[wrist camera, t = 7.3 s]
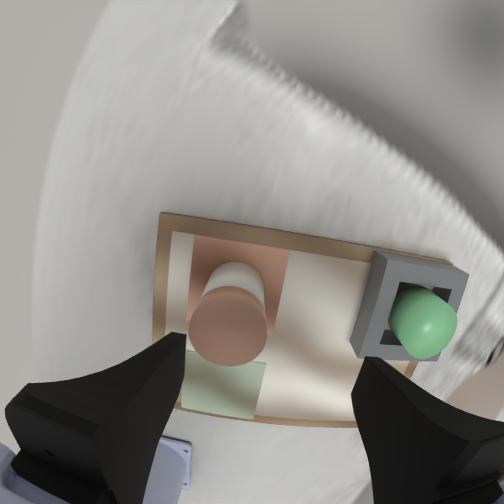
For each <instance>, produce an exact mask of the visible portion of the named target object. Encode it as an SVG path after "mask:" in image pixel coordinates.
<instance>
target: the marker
mask: <svg viewBox="0 0 504 504" xmlns="http://www.w3.org/2000/svg"><path fill="white" fill-rule="evenodd" d="M188 335H189V339H190V342H191V344H192V346H193V348H194V349H195V351H196V352H197V353H198V354H199V355H200V356H201V357H203V358H204V359H206V360H207V361H209V362H211V363H214V364H216V365H220V366H228V367H232V366H240V365H243V364H246V363H248V362H250V361H252V360H254V359H255V358H256V357H257V356H258V355H259V354H260V353H261V352H262V350H263V349H264V347H265V344H266V340H267V322H266V313H265V303H264V286H263V281H262V278H261V276H260V274H259V273H258V272H257V271H256V270H255V269H254V268H253V267H252V266H250V265H248V264H246V263H243V262H235V261H234V262H227V263H224V264H222V265H220V266H219V267H217V268H216V269H215V270H214V271H213V272H212V274H211V276H210V278H209V280H208V283H207V285H206V287H205V289H204V292H203V294H202V296H201V299H200V300H199V302H198V303H197V306H196V308H195V310H194V312H193V315H192V317H191V319H190V322H189V327H188Z"/></svg>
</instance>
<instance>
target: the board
mask: <svg viewBox="0 0 504 504" xmlns="http://www.w3.org/2000/svg"><path fill="white" fill-rule="evenodd" d="M374 250H378V251H383V252H389V253H394V254H399V255H405V256H410V257H415V258H420V259H425V260H430V261H436V262H441V263H446V264H451V265H453V263H451V262H449V261H444V260H439V259H434V258H429V257H424V256H419V255H414V254H409V253H404V252H399V251H394V250H389V249H383V248H378V247H373V246H367V245H362V244H356V243H351V242H345V241H340V240H334V239H329V238H323V237H317V236H311V235H306V234H300V233H294V232H288V231H282V230H276V229H270V228H264V227H257V226H251V225H245V224H239V223H232V222H226V221H219V220H213V219H206V218H199V217H193V216H186V215H179V214H172V213H165V212H162V213H160V215H159V225H158V236H157V248H156V262H155V278H154V299H153V339H152V345H153V344H154V343H155V342H157V341H158V340H160V339H161V338H163V337H164V336H166V335H167V334H169V333H170V332H177V333H182V334H187V338H186V356H185V376H184V379H183V383H182V387H181V390H180V394H179V396H178V399H177V401H176V403H175V406H174V408H175V409H180V410H184V411H189V412H194V413H199V414H205V415H210V416H216V417H222V418H228V419H235V420H242V421H250V422H258V423H267V424H278V425H290V426H305V427H331V428H358V426H357V422H356V419H355V416H354V412H353V407H352V400H351V392H352V389H353V387H354V384H355V382H356V379H357V377H358V374H359V372H360V369H361V366H362V364H363V361H364V359H358V358H357V356H356V354H355V352H354V350H353V348H352V346H351V344H350V342H349V341H350V338H351V335H352V332H353V328H354V325H355V322H356V319H357V315H358V312H359V309H360V305H361V302H362V298H363V295H364V291H365V288H366V284H367V280H368V276H369V273H370V269H371V265H372V263H371V262H372V258H373V254H374ZM234 261H235V262H243V263H246V264H248V265H250V266H252V267H253V268H254V269H255V270H256V271H257V272H258V273H259V274H260V276H261V278H262V281H263V286H264V303H265V313H266V322H267V340H266V344H265V347H264V349H263V350H262V352H261V353H260V354H259V355H258V356H257V357H256V358H255V359H254V360H252V361H250V362H248V363H246V364H243V365H240V366H232V367H228V366H220V365H216V364H214V363H211V362H209V361H207V360H206V359H204V358H203V357H201V356H200V355H199V354H198V353H197V352H196V351H195V349H194V348H193V346H192V344H191V342H190V339H189V335H188V327H189V322H190V319H191V317H192V315H193V312H194V310H195V308H196V306H197V303H198V302H199V300H200V299H201V296H202V294H203V292H204V289H205V287H206V285H207V283H208V280H209V278H210V276H211V274H212V272H213V271H214V270H215V269H216V268H217V267H219V266H220V265H222V264H224V263H227V262H234ZM412 286H424V287H426V288H428V289H429V290H431V291H433V288H434V286H427V285H420V284H414V283H407V282H401V281H400V282H399V286H398V289H397V293H396V296H395V298H396V297H397V296H398V295H399V294H400V293H401V292H402V291H404V290H405V289H407V288H409V287H412ZM385 330H391V329H390V327H389V324H388V321H387V324H386V327H385ZM384 361H386V362H387V363H388V364H390V365H391V366H392V367H394V368H395V369H396V370H398V371H399V372H400V373H402V374H403V375H404V376H405V377H407V378H408V379H409V380H410V379H411V377H412V375H413V372H414V370H415V368H416V366H417V364H418V361H396V360H384Z"/></svg>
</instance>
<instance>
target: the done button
mask: <svg viewBox="0 0 504 504" xmlns="http://www.w3.org/2000/svg"><path fill="white" fill-rule="evenodd" d="M388 324H389V327H390V329H391V330H392V332H393V333H394V334H395V336H396V337H397V338H398V339H399V341H400V342H401V343H402V345H403V346H404V347H405V349H406V350H407V351H408V353H409V354H410V355H411V356H412V357H414V358H417V359H427V358H430V357H433V356H435V355H437V354H438V353H440V352H441V351H442V350H443V349H444V348H445V347H446V346H447V345H448V344H449V342H450V341H451V339H452V338H453V335H454V333H455V330H456V326H457V316H456V313H455V311H454V309H453V308H452V307H451V306H450V305H449V304H447V303H446V302H445V301H443V300H442V299H441V298H440V297H438V296H437V295H436V294H434V293H433V292H432V291H431V290H429V289H428V288H426V287H424V286H412V287H409V288H407V289H405V290H404V291H402V292H401V293H400V294H399V295H398V296H397V297H396V298H395V299H394V302H393V306H392V309H391V312H390V315H389V318H388Z"/></svg>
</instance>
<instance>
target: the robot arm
mask: <svg viewBox="0 0 504 504" xmlns="http://www.w3.org/2000/svg"><path fill="white" fill-rule="evenodd" d="M186 338H187V334H182V333H177V332H170V333H169V334H167V335H166V336H164V337H163V338H161V339H160V340H158V341H157V342H155V343H154V344H153V345H151V346H150V347H148V348H146V349H145V350H143V351H142V352H140V353H138V354H137V355H135V356H133V357H131V358H129V359H128V360H126V361H124V362H122V363H120V364H118V365H115V366H113V367H111V368H108V369H106V370H103V371H100V372H97V373H93V374H90V375H87V376H83V377H79V378H75V379H70V380H64V381H57V382H46V383H28V384H27V385H26V386H25V387H24V388H23V389H22V390H21V391H20V392H19V393H18V394H17V395H16V396H15V397H14V398H13V399H12V400H11V401H10V402H9V404H8V405H7V406H6V408H5V417H6V420H7V423H8V425H9V427H10V429H11V431H12V433H13V435H14V437H15V439H16V441H17V443H18V445H19V447H20V448H21V450H20V451H19V453H18V454H17V455H15V453H14V452H12V450H10V449H9V448H8V447H6V446H5V445H3V444H2V443H0V504H178V500H179V496H180V492H181V489H185V490H188V489H190V472H191V451H192V446H191V445H190V444H189V443H186V442H181V441H177V440H172V439H168V438H164V437H161V435H162V433H163V431H164V428H165V426H166V424H167V422H168V419H169V417H170V415H171V413H172V410H173V408H174V406H175V403H176V401H177V399H178V396H179V394H180V390H181V387H182V383H183V379H184V376H185V356H186ZM351 400H352V407H353V412H354V416H355V419H356V422H357V426H358V429H359V432H360V435H361V438H362V441H363V444H364V447H365V450H366V453H367V457H368V461H369V467H370V473H371V479H372V488H373V498H374V504H504V482H503V483H502V484H501V485H499V483H498V481H497V480H499V478H500V477H501V475H500V473H499V471H498V470H499V469H500V468H501V466H502V465H503V464H504V422H501V421H495V420H490V419H486V418H483V417H479V416H476V415H473V414H470V413H467V412H465V411H463V410H460V409H458V408H455V407H453V406H451V405H449V404H447V403H445V402H443V401H442V400H440V399H438V398H436V397H434V396H433V395H431V394H430V393H428V392H427V391H425V390H424V389H422V388H421V387H419V386H418V385H416V384H415V383H414V382H412V381H411V380H409V379H408V378H407V377H405V376H404V375H403V374H402V373H400V372H399V371H398V370H396V369H395V368H394V367H392V366H391V365H390V364H388V363H387V362H386V361H384V360H383V359H381V358H379V357H372V356H365V358H364V361H363V364H362V366H361V369H360V372H359V374H358V377H357V379H356V382H355V384H354V387H353V389H352V392H351Z"/></svg>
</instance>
